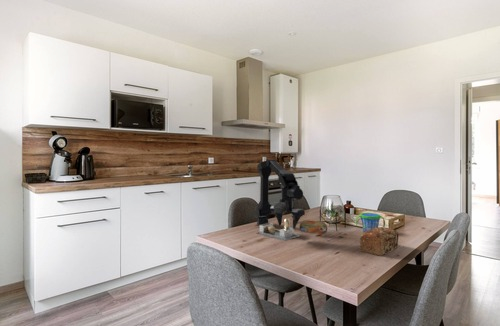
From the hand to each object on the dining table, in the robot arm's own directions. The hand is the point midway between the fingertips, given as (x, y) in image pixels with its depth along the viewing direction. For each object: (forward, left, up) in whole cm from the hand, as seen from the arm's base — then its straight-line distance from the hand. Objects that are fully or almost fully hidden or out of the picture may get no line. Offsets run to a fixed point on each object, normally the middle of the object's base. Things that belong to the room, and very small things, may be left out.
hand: (286, 226), depth 149 cm
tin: (+5, +17, -7) cm, 19 cm away
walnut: (-11, 0, -5) cm, 12 cm away
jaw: (0, 0, -5) cm, 5 cm away
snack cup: (+24, +46, -7) cm, 52 cm away
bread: (+40, +19, -7) cm, 45 cm away
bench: (-6, 0, -7) cm, 9 cm away
